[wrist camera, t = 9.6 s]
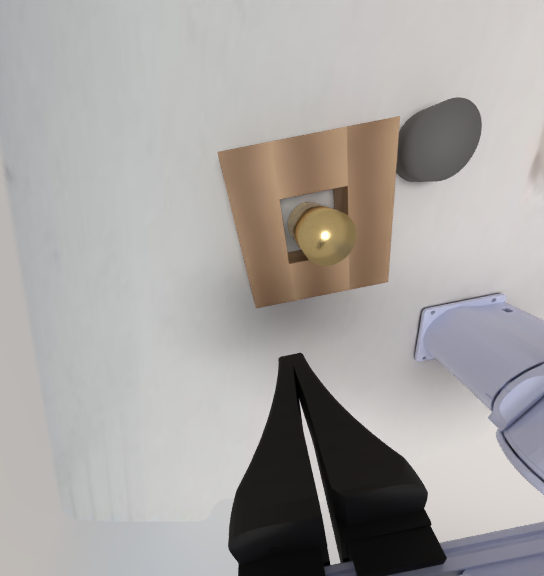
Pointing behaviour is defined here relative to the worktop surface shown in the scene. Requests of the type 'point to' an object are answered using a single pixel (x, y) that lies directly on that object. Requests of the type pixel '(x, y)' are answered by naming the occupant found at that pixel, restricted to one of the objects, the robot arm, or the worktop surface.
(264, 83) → the worktop surface
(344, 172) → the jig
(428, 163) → the flat gray river rock
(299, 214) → the brass cylinder plug
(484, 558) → the robot arm
